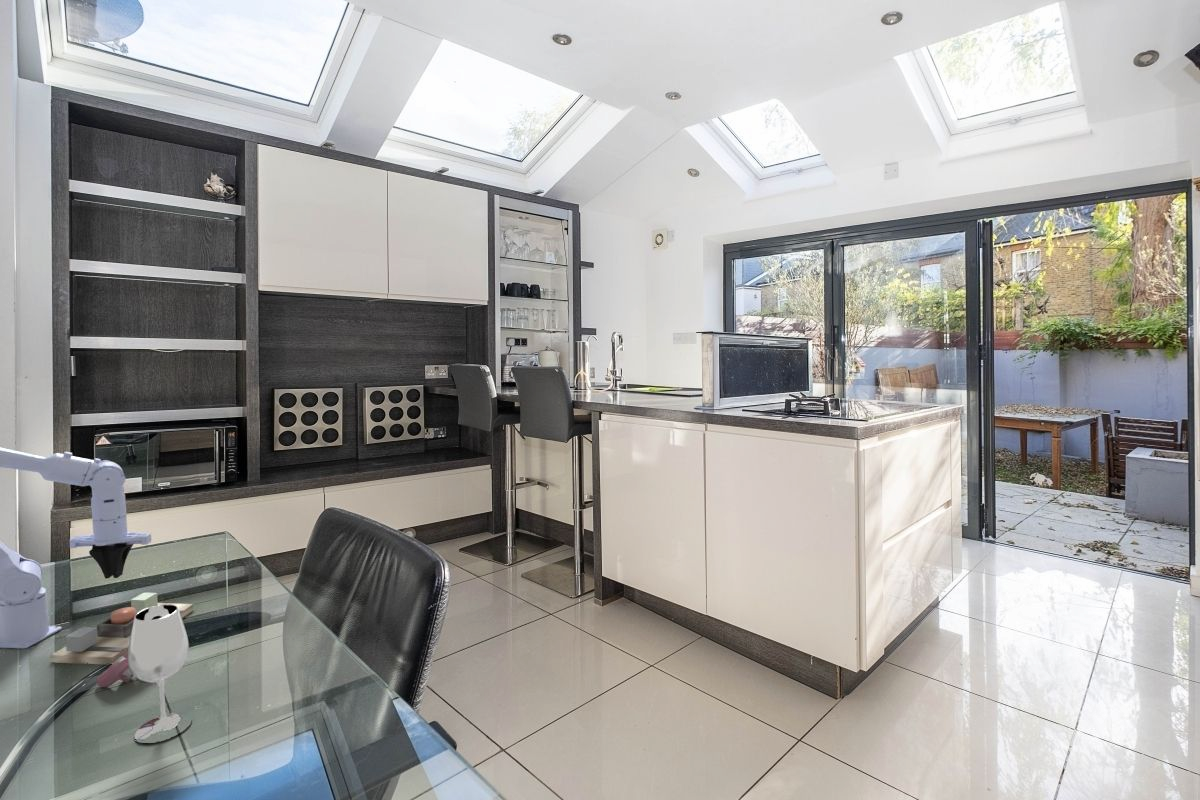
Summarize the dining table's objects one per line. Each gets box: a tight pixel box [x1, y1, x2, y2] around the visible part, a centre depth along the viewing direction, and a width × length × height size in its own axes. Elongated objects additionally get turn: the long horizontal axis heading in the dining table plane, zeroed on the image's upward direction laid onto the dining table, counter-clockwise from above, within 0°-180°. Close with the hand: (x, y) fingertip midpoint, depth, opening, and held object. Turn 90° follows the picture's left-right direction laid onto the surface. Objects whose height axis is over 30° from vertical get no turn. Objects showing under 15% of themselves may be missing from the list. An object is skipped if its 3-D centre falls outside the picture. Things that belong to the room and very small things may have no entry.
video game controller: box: [96, 652, 135, 688], centre depth 109 cm, size 10×5×7 cm
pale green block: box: [130, 592, 159, 612], centre depth 130 cm, size 3×4×3 cm
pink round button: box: [110, 606, 136, 625], centre depth 122 cm, size 4×4×2 cm
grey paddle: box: [64, 626, 98, 652], centre depth 114 cm, size 3×4×3 cm
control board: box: [50, 602, 195, 665], centre depth 123 cm, size 12×22×4 cm, turn 179°
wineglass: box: [128, 604, 190, 740], centre depth 94 cm, size 8×8×20 cm
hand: (113, 576), depth 129 cm, fingers closed
